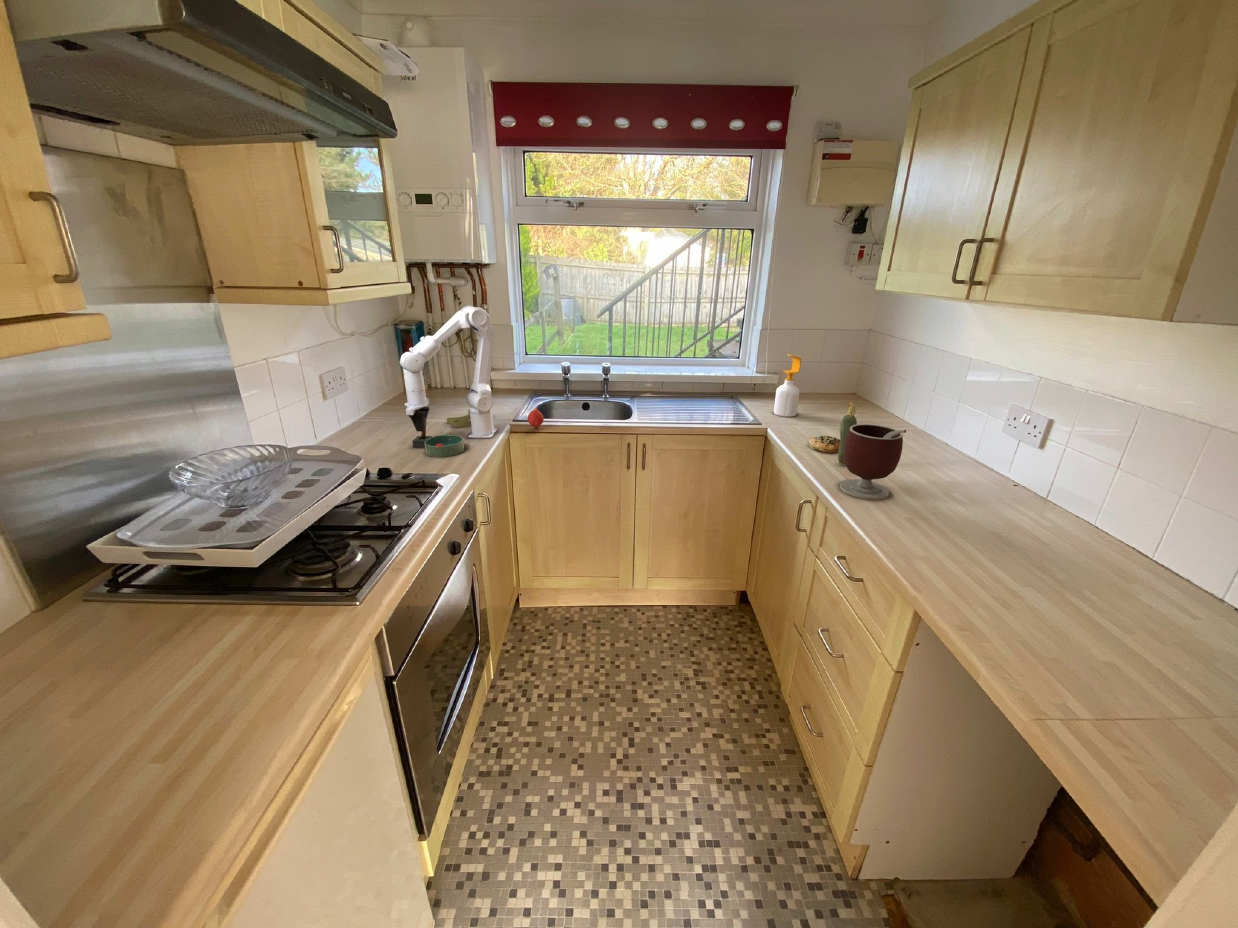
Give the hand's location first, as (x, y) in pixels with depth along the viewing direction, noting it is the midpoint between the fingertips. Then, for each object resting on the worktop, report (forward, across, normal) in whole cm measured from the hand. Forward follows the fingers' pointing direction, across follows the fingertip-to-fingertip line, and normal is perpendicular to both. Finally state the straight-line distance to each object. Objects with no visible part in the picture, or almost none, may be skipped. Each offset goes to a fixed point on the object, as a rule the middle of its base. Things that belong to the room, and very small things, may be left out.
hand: (421, 430), depth 169 cm
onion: (+6, -20, +35) cm, 41 cm away
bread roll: (+6, -1, +136) cm, 136 cm away
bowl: (+5, +5, +9) cm, 12 cm away
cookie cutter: (+6, -29, +8) cm, 31 cm away
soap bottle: (+6, -43, +135) cm, 142 cm away
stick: (+5, 0, 0) cm, 5 cm away
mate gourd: (+6, +34, +134) cm, 139 cm away
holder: (+5, 0, 0) cm, 5 cm away
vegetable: (+6, +15, +135) cm, 136 cm away
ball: (+3, +9, +9) cm, 13 cm away
